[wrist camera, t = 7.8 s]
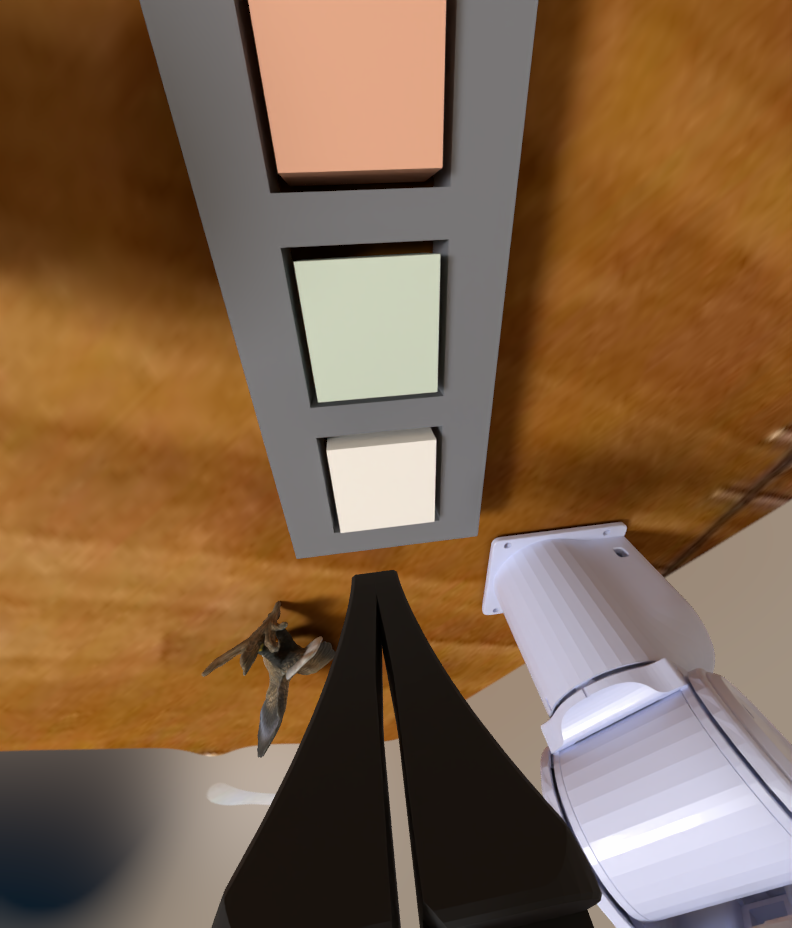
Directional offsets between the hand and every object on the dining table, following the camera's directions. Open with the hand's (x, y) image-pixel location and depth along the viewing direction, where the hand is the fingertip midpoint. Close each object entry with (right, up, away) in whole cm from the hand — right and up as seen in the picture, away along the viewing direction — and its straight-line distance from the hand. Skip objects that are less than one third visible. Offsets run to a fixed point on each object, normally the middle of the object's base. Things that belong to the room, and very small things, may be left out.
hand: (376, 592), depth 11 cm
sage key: (-1, +10, +3) cm, 11 cm away
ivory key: (0, +4, +7) cm, 8 cm away
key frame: (-1, +10, +4) cm, 11 cm away
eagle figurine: (-7, -9, +15) cm, 19 cm away
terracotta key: (-1, +16, 0) cm, 16 cm away
